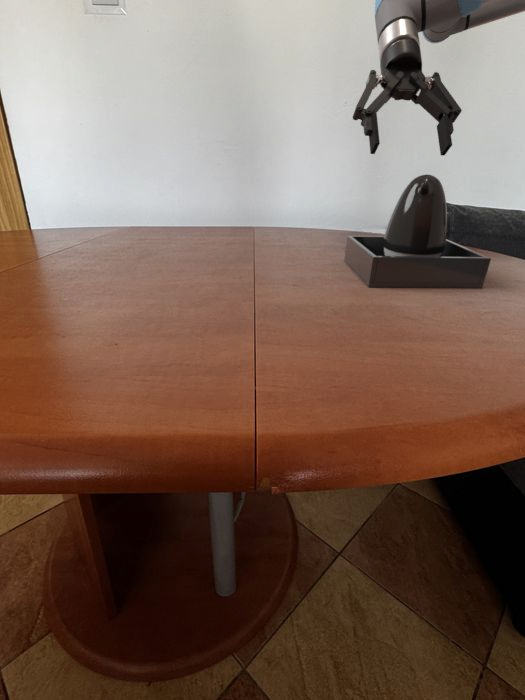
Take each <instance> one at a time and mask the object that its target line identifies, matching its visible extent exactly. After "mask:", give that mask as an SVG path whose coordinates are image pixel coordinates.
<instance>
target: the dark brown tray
mask: <svg viewBox="0 0 525 700" xmlns="http://www.w3.org/2000/svg"><path fill="white" fill-rule="evenodd" d="M383 239H384V235H347V236H346V242H345V244H346V246H345V251H344V259H343V261H344V262H345V263H346V264H347V266H348V267H349V268H350V269H351V270H352V271H353V272H354V273H355V274H356V275H357V276H358V277H359V279H360V280H361V281H362V282H363V283H364V284H365V285H366V287H368V288H409V289H410V288H422V289H425V288H427V289H428V288H429V289H431V288H432V289H433V288H434V289H435V288H436V289H439V288H440V289H450V288H451V289H483V287H484V283H485V280H486V277H487V273H488V270H489V268H490V263H491V260H492V258H491V257H489V256H486V255H484V254H482V253H479V252H477V251H475V250H473V249H471V248H468V247H466V246H464V245H461V244H459V243H457V242H455V241H452V240H449V239H447V238H446V243H445V248H444V251H443V252H442V253H441V255H440V257H427V256H385V254H384V247H383Z"/></svg>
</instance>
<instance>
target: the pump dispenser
mask: <svg viewBox="0 0 525 700" xmlns="http://www.w3.org/2000/svg"><path fill="white" fill-rule="evenodd" d="M445 193H446V192H445V190H444V187H443V185H442V182H441V180H440V179H439V178H438V177H437V176H434V175H432V174H421V175H418V176H416V177H414V178H413V179H412V180H411V181H410V182H409V183H408V184H407V185H406V187H405V188H404V190H403V191H402V192H401V194H400V196H399V198H398V200H397V202H396V204H395V205H394V208H393V211H392V212H391V215H390V218H389V220H388V223H387V226H386V229H385V231H384V235H383V236H384V239H383V247H384V254H385V256H427V257H440V255H441V253H442V252H443V251H444V248H445V243H446V239H447V233H448V232H447V230H448V210H447V199H446V194H445Z"/></svg>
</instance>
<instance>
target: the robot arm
mask: <svg viewBox="0 0 525 700" xmlns="http://www.w3.org/2000/svg"><path fill="white" fill-rule="evenodd" d="M523 12H525V0H375V1H374V22H375V31H376V38H377V45H378V46H377V47H378V57H379V68H380V74H377V71H376V70H375V69H371V70H370V71H369V75H368V77H367V79H366V82H365V88H364V90H363V92H362V94H361V96H360V98H359V100H358V102H357V104H356V106H355V110H354V112H353V115H352V119H353V120H354V121H358V120H360V126H361V127H363V134H364V136H365V137H368V142H369V153H370V155H375V154H376V152H377V150H378V148H379V145H380V133H379V125H378V124H379V123H378V114H377V113H378V112H379V111H380V110H381V109H382V108H383V106H384V105H385V104H387V103H388V102H389V101H390V99H394V101H401V100H403V101H412V103H414V104H415V105H419V106H420V107H421V108H423V109H424V110H425V111H426V112H427V113H428V114H429V115H430V116H431V117H432V118H433V119H434V120H436V122H438V124H436V131H437V139H438V145H439V152H440V156H446V154H447V153H448V152H449V150H451V148H452V147H453V140H452V134H453V133H454V130H455V129H454V123H455V122H456V121H457V119H458V117H459V116H460V115H461V113H462V108H461V106H460V105H459V103H458V102H457V101H456V100H455V98H454V97H453V95H452V94H451V93H450V91H449V90H448V88H447V87H446V86H445V84H444V83H443V81H442V78H441V74H440V73H439V72H438V71H435V72H433V74H432V75H431V76H426V75H425V74H424V73H423V57H422V51H421V43H420V37H419V33H421V34H422V36H423V39H424V40H426V41H427V42H428V43H431V44H439V43H442V42H444V41H446V40H447V39H448V38H449V37H450V36H453V35H456V34H459V33H462V32H465V31H467V30H470V29H474V28H476V27H481V26H483V25H486V24H489V23H492V22H496V21H499V20H502V19H505V18H509V17H511V16H515V15H517V14H520V13H523ZM378 85H380V87H381V88H382V89H383V90H382V91H381V92H380V93H379V94H378V96H376V97H375V99H374V100H373V101H372V102H371V103H370V104H369V105H368V106H367V108H365V106H366V105H367V103H368V101H369V99H370V97H371V94H372V92H373V90H375V88H378ZM417 94H418V95H417Z"/></svg>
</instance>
